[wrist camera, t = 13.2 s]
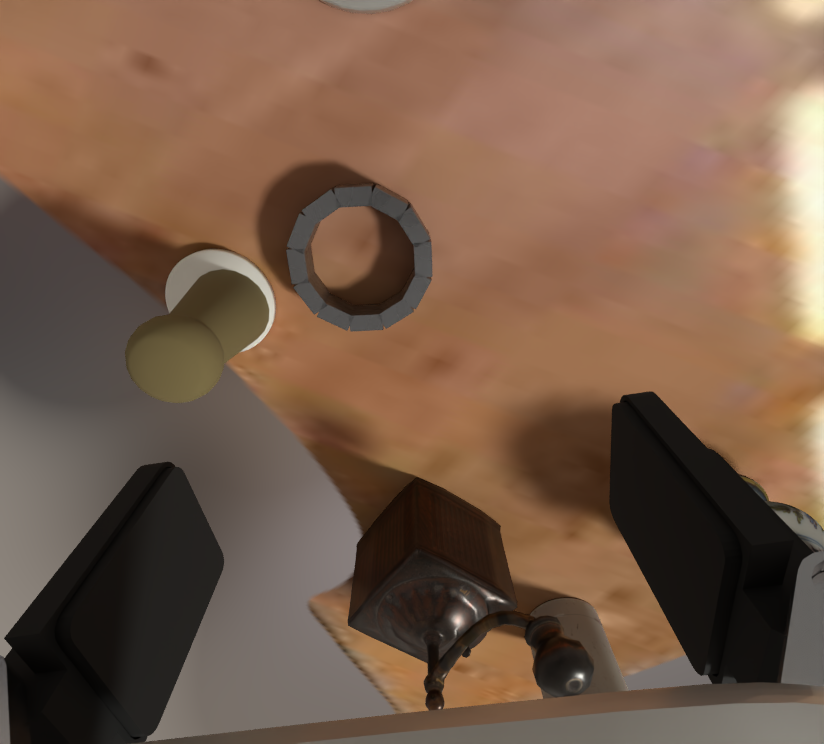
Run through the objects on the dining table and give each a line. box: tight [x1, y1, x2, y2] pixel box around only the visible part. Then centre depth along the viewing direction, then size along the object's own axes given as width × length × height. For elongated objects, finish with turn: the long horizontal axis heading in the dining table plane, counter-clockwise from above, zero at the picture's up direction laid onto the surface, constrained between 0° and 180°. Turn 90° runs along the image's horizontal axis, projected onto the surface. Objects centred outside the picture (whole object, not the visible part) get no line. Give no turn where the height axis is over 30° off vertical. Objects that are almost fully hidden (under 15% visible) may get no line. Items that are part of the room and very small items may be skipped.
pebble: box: [165, 249, 276, 352], centre depth 36 cm, size 8×8×1 cm
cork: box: [125, 269, 269, 403], centre depth 31 cm, size 6×6×11 cm
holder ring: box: [286, 183, 432, 331], centre depth 34 cm, size 10×10×2 cm
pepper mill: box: [348, 478, 594, 711], centre depth 38 cm, size 16×11×18 cm
